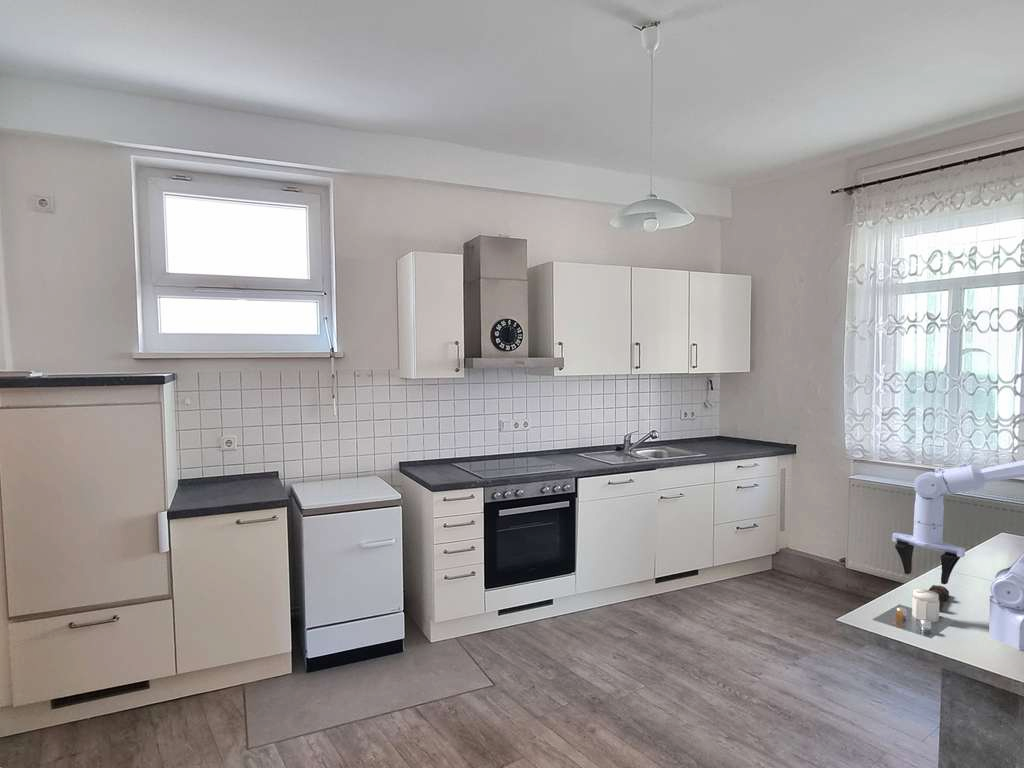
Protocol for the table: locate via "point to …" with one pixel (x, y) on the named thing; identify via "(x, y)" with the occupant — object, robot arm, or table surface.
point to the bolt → (940, 594)
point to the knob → (925, 605)
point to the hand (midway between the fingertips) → (925, 578)
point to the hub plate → (913, 621)
